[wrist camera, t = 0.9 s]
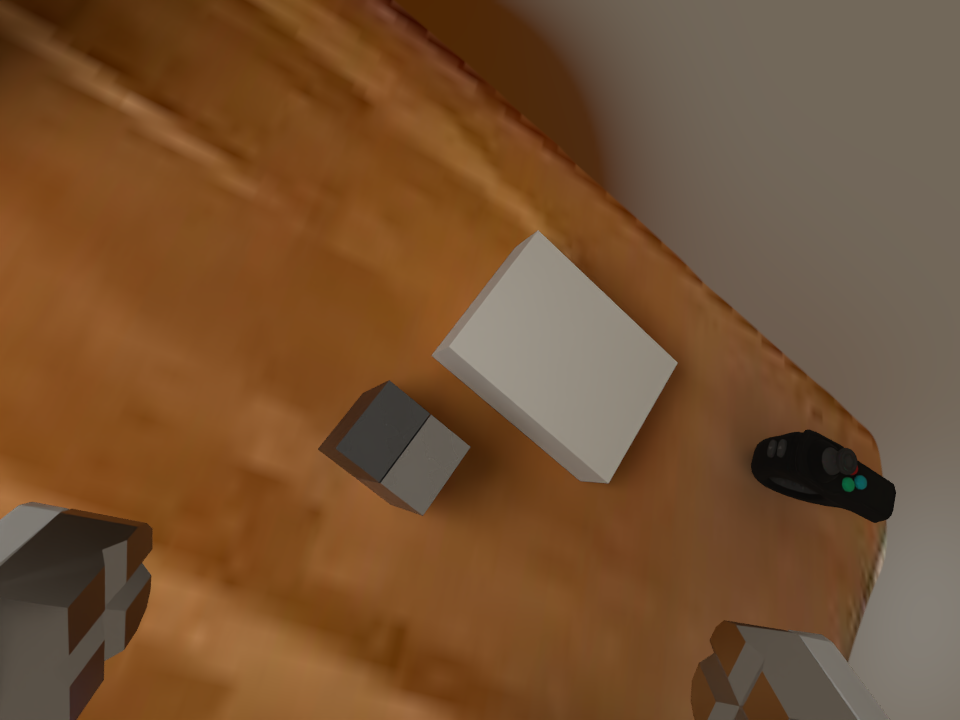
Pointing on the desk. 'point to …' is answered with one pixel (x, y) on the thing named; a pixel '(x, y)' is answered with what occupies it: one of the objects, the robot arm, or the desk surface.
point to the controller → (822, 474)
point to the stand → (558, 360)
